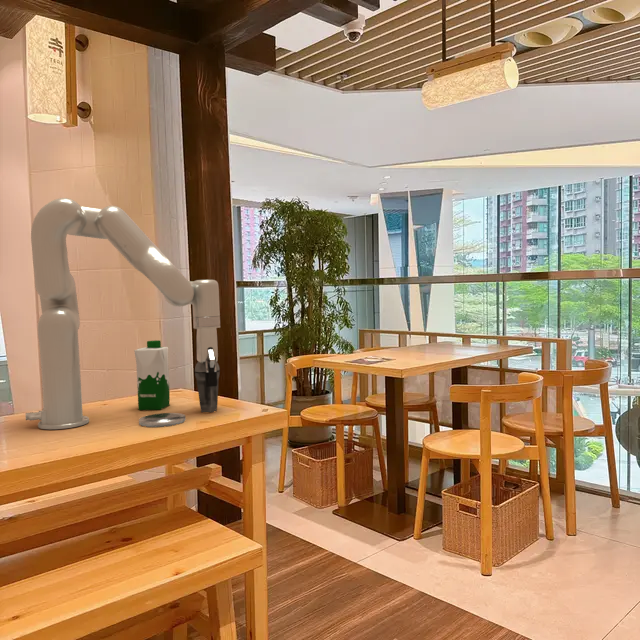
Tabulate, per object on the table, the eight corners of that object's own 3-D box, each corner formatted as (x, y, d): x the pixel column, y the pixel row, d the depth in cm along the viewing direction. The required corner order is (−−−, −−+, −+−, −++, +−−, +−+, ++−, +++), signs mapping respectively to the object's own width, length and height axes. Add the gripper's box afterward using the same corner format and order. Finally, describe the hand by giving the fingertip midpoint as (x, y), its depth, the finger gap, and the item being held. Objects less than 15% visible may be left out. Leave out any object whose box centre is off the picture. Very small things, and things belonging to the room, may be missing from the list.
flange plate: (139, 429, 151) (139, 424, 151) (138, 419, 163) (138, 415, 163) (187, 424, 155) (187, 419, 155) (183, 415, 167) (183, 411, 166)
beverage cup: (192, 413, 169) (189, 343, 168) (201, 408, 176) (198, 341, 175) (216, 413, 168) (213, 342, 167) (225, 408, 175) (222, 340, 174)
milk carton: (173, 404, 183) (170, 340, 182) (162, 410, 174) (159, 342, 173) (146, 404, 184) (143, 340, 183) (133, 410, 176) (130, 343, 174)
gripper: (190, 322, 178) (192, 381, 179) (197, 325, 161) (200, 390, 162) (215, 321, 180) (217, 379, 181) (224, 323, 164) (227, 387, 164)
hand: (209, 383), depth 172 cm, fingers closed on beverage cup, 7 cm apart
